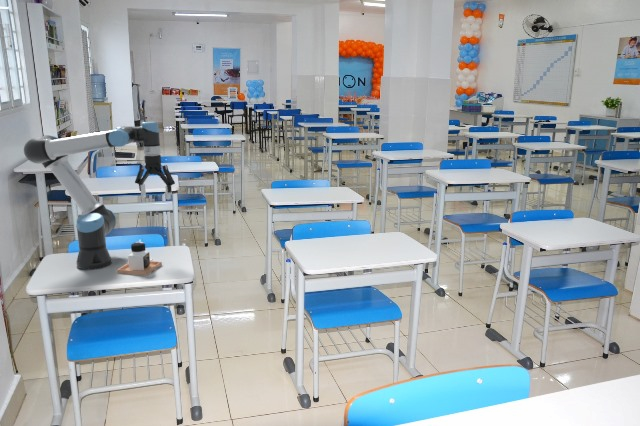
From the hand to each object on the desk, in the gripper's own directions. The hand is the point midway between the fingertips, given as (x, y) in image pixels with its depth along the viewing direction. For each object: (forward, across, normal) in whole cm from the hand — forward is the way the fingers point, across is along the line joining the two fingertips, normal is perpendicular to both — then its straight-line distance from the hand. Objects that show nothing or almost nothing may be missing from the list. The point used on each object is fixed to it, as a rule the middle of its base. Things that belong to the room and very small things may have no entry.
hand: (156, 198), depth 254 cm
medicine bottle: (+28, +2, -21) cm, 35 cm away
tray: (+29, +2, -21) cm, 35 cm away
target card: (+29, -2, -10) cm, 31 cm away
